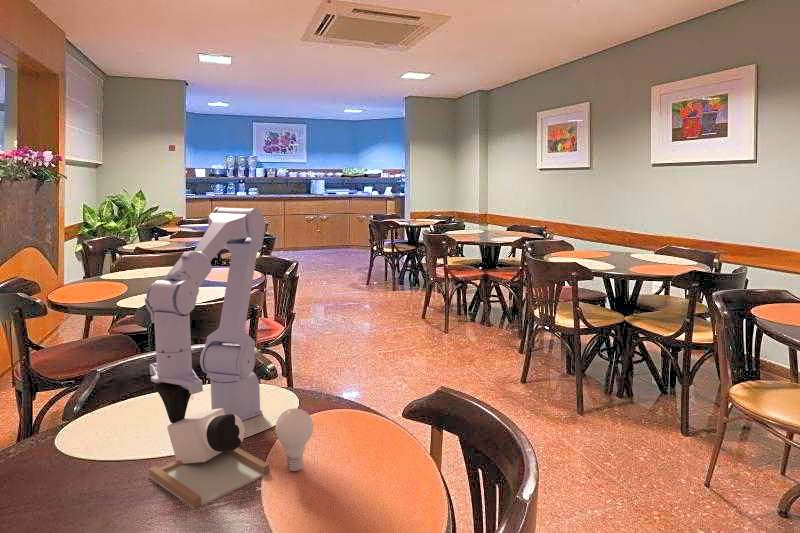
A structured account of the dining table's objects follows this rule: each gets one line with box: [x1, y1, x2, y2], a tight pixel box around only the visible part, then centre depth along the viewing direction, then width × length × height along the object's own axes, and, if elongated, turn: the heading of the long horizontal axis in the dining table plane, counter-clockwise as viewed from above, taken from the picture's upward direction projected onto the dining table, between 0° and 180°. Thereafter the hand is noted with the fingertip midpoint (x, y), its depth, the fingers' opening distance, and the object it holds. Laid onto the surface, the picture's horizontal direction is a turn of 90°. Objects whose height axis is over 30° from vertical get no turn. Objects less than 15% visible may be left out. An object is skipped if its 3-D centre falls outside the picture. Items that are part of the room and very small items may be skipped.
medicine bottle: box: [166, 408, 245, 464], centre depth 98 cm, size 7×7×12 cm
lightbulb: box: [274, 407, 314, 472], centre depth 95 cm, size 6×6×11 cm
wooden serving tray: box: [148, 447, 271, 510], centre depth 94 cm, size 14×14×2 cm
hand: (177, 421), depth 100 cm, fingers closed, pressing on medicine bottle
